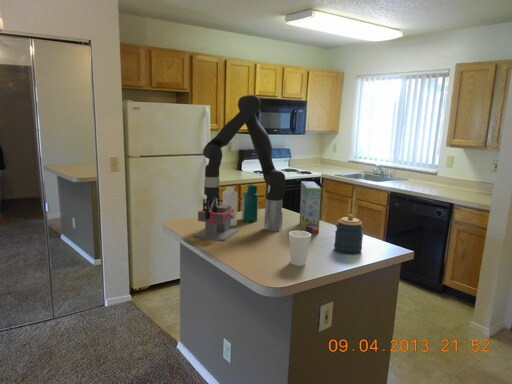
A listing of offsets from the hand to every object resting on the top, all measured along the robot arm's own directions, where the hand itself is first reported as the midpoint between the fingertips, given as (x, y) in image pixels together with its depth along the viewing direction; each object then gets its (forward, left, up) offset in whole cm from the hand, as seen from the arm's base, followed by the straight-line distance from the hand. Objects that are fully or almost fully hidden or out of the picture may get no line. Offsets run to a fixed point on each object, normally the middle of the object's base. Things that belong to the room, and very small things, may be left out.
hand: (211, 217), depth 191 cm
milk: (+1, -26, -11) cm, 28 cm away
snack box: (-42, -40, -11) cm, 59 cm away
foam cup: (-49, +16, -11) cm, 53 cm away
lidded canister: (-67, -11, -11) cm, 69 cm away
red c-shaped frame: (0, -6, -3) cm, 6 cm away
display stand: (0, -7, -11) cm, 13 cm away
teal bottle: (-6, -41, -11) cm, 43 cm away
